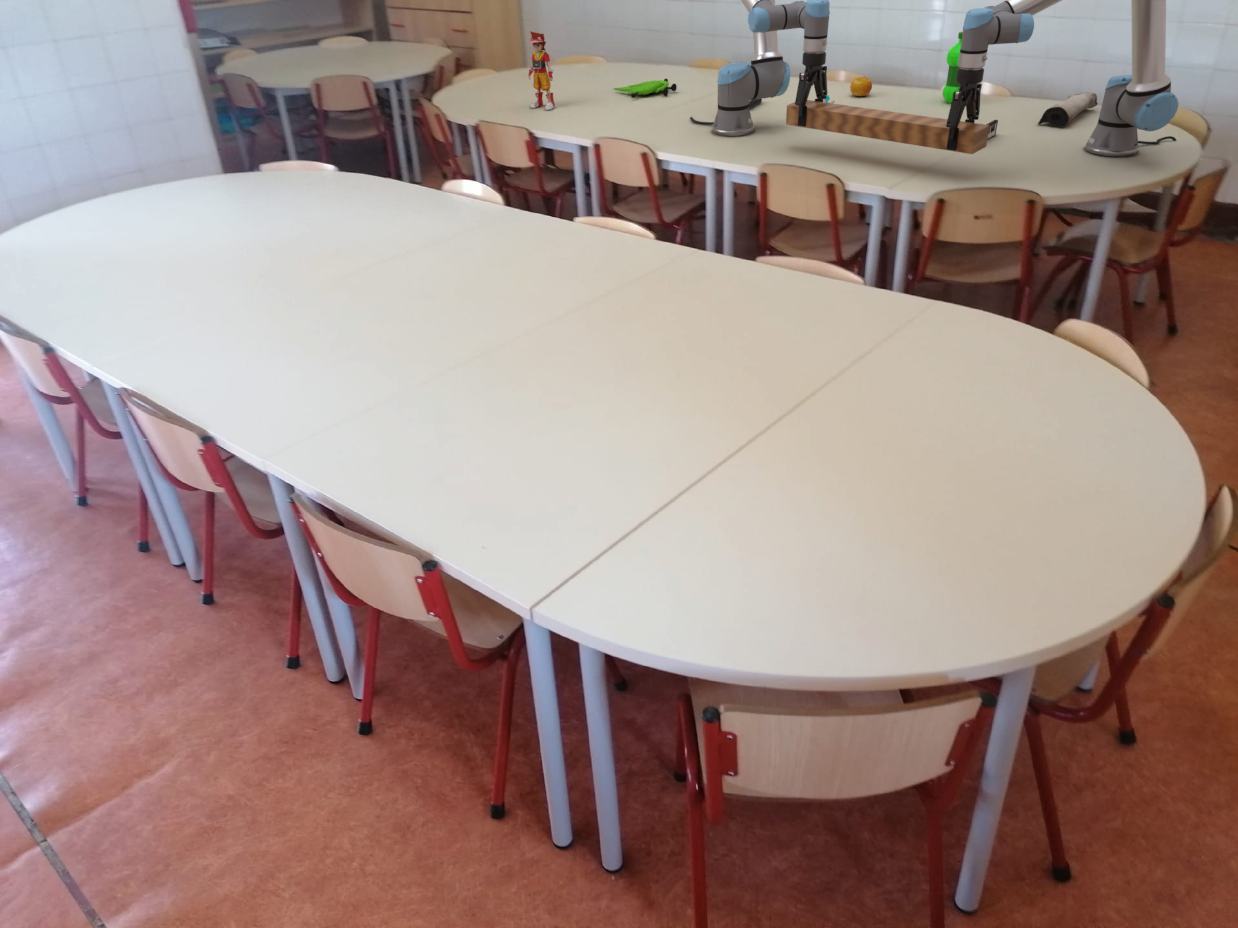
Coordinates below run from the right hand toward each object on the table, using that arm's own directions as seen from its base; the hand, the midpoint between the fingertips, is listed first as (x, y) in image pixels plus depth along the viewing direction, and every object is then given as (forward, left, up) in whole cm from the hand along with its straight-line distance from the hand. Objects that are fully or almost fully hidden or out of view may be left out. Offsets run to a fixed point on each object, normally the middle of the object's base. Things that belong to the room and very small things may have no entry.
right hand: (958, 145), depth 276 cm
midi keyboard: (-24, -34, -9) cm, 43 cm away
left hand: (+36, -40, 0) cm, 54 cm away
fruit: (-5, -109, -9) cm, 110 cm away
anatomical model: (+18, -78, -9) cm, 80 cm away
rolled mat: (-65, -54, -9) cm, 85 cm away
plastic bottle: (-36, -88, -9) cm, 95 cm away
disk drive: (+45, -107, -9) cm, 116 cm away
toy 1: (+126, -132, -9) cm, 183 cm away
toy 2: (+82, -146, -9) cm, 168 cm away
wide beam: (+18, -20, -1) cm, 27 cm away
